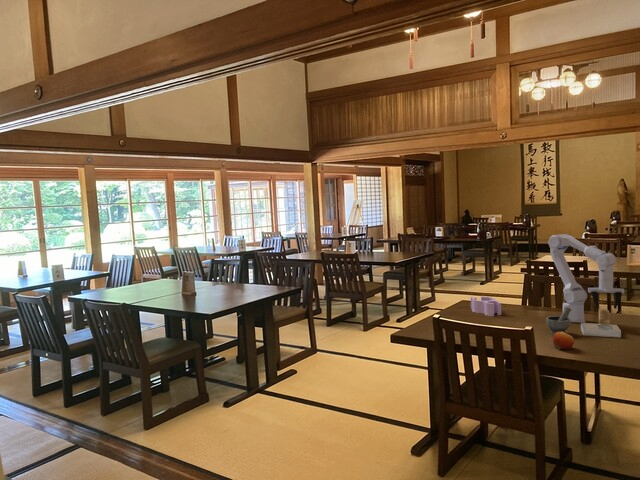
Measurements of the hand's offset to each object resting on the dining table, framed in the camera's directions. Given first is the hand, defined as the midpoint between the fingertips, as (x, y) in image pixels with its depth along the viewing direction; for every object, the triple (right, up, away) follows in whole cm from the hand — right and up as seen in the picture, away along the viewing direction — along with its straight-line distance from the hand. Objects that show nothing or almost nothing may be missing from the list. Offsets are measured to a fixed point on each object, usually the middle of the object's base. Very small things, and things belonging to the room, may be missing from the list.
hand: (605, 307), depth 231 cm
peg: (0, -9, +1) cm, 9 cm away
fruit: (-33, -14, -26) cm, 44 cm away
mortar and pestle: (-24, -11, -5) cm, 27 cm away
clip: (-43, -8, +40) cm, 59 cm away
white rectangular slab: (-7, -10, -8) cm, 15 cm away
